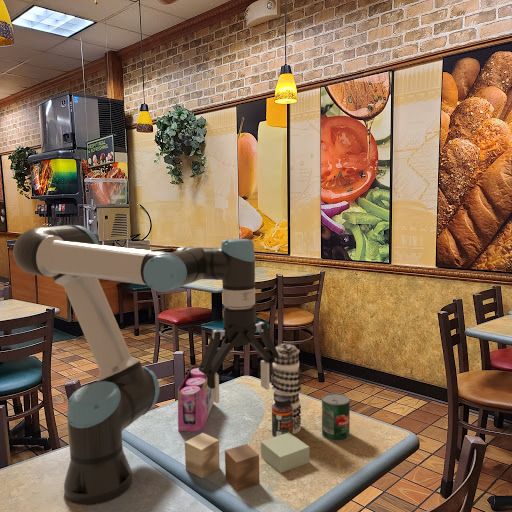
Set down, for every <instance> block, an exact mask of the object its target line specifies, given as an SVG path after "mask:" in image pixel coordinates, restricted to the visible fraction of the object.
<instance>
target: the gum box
mask: <svg viewBox="0 0 512 512" xmlns="http://www.w3.org/2000/svg"><path fill="white" fill-rule="evenodd" d="M199 367H200V365H193V366H191V367H190V368H189V371H188V372H187V374H186V376H185V377H184V379H183V380H182V382H181V384H180V385H179V387H178V389H177V431H178V432H194V433H195V432H199V433H203V430H204V426H205V424H206V421H207V420H208V417H209V415H210V413H211V410H212V408H213V405H214V403H215V402H214V401H213V400H212V399H211V389H210V388H209V387H208V385H207V374H203V373H202V372H201V371H199Z"/></svg>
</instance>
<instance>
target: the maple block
mask: <svg viewBox="0 0 512 512" xmlns="http://www.w3.org/2000/svg"><path fill="white" fill-rule="evenodd" d="M184 459H185V470H186V471H187V472H188V473H191V474H193V475H195V476H197V477H199V478H201V479H204V478H205V477H206V476H208V475H210V474H212V473H213V472H215V471H217V470H219V469H221V468H220V467H221V465H220V462H221V461H220V440H219V439H217V438H215V437H213V436H211V435H209V434H207V433H204V432H200V434H198V435H195V436H194V437H192V438H190V439H188V440H186V441H184Z"/></svg>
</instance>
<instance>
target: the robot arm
mask: <svg viewBox="0 0 512 512" xmlns="http://www.w3.org/2000/svg"><path fill="white" fill-rule="evenodd" d="M12 254H13V255H12V256H13V259H14V261H15V263H16V265H17V266H18V267H19V268H20V269H21V270H22V271H23V272H25V273H27V274H30V275H34V276H43V277H49V278H50V277H52V278H53V281H54V283H55V284H57V285H59V286H62V287H63V288H64V291H65V294H66V295H67V298H68V300H69V302H70V305H71V307H72V310H73V311H74V314H75V317H76V319H77V321H78V323H79V326H80V328H81V330H82V333H83V335H84V337H85V340H86V342H87V344H88V347H89V349H90V351H91V354H92V355H93V359H94V362H95V364H96V365H97V368H98V370H99V372H98V376H97V378H96V382H93V383H91V384H86V385H84V386H81V387H80V388H77V390H75V391H73V393H72V394H71V396H70V397H69V398H68V402H67V412H66V419H67V428H68V429H67V430H68V431H67V432H68V442H69V452H70V453H69V454H70V455H69V456H70V459H69V464H68V467H67V468H68V469H67V471H66V476H65V479H64V484H63V488H64V497H65V499H67V501H69V502H70V503H72V504H75V505H81V506H93V505H99V504H103V503H108V502H110V501H113V500H115V499H116V498H119V497H120V496H122V495H123V494H125V493H126V492H127V491H128V490H129V488H130V487H131V485H132V481H133V477H132V476H133V475H132V474H133V473H132V472H133V471H132V469H131V465H130V464H129V461H128V459H127V457H126V454H125V452H124V447H123V446H124V445H123V431H124V430H125V429H126V428H127V427H129V426H130V425H131V424H133V423H134V422H135V421H137V420H138V419H140V418H141V417H142V416H144V415H146V414H147V413H148V412H149V411H150V410H151V408H153V407H154V406H155V404H156V403H157V401H158V398H159V396H160V382H159V380H158V377H157V375H156V374H155V372H154V371H152V369H149V368H148V367H147V366H143V364H142V362H141V360H140V358H136V357H134V356H132V355H131V352H130V349H129V347H128V345H127V343H126V340H125V338H124V336H123V333H122V331H121V329H120V327H119V324H118V322H117V320H116V317H115V316H114V315H115V314H114V313H113V310H112V308H111V306H110V304H109V301H108V299H107V296H106V294H105V291H104V290H103V287H102V285H101V283H100V280H106V281H113V282H120V283H126V284H127V283H129V284H137V285H145V286H148V287H149V288H151V289H152V290H153V291H155V292H158V293H159V292H160V293H163V292H164V293H165V292H171V291H174V290H175V291H176V290H177V289H178V288H182V287H183V286H185V285H189V284H192V283H194V282H198V281H201V280H214V281H215V280H216V281H221V283H222V305H223V306H224V307H223V308H222V313H223V315H222V316H223V317H222V318H223V329H221V330H217V329H214V328H212V329H211V331H210V340H209V342H208V345H207V346H206V347H207V348H206V349H205V352H204V355H203V357H202V359H201V361H200V364H199V366H200V367H199V371H201V372H202V373H203V374H207V385H208V387H209V388H210V389H211V399H212V400H213V401H214V403H215V404H219V403H220V376H219V374H218V373H217V372H218V370H219V368H220V367H221V366H222V364H223V363H224V361H225V360H226V358H227V357H228V355H229V353H230V352H231V351H232V350H233V349H234V348H239V347H241V346H248V345H249V344H250V345H251V346H252V348H253V349H254V351H256V352H257V353H258V355H259V356H261V358H262V360H260V386H261V388H263V389H265V390H267V391H268V390H270V375H272V374H271V373H272V363H274V361H275V360H274V359H275V358H278V357H279V354H278V352H277V350H276V346H275V344H274V342H273V339H272V338H271V335H270V334H269V329H268V325H267V323H266V322H264V321H258V322H257V323H256V321H257V320H256V312H257V311H256V309H257V308H256V306H255V304H256V257H255V255H256V254H255V245H254V242H253V241H252V240H251V239H248V238H228V239H227V238H226V239H223V240H222V241H221V246H220V247H200V246H199V247H195V246H191V245H190V246H185V247H182V246H181V247H179V248H176V249H175V251H174V252H168V251H158V250H148V249H141V248H139V249H138V248H133V247H130V248H129V247H122V246H121V247H120V246H115V245H114V246H112V245H104V244H100V243H99V241H98V239H97V237H96V235H95V234H94V232H92V231H91V230H90V229H88V228H86V227H85V226H83V225H73V224H65V225H57V226H56V225H55V226H45V227H33V228H29V229H28V230H26V231H24V232H23V233H21V234H20V235H19V236H18V237H17V239H16V240H15V242H14V244H13V249H12ZM256 332H258V334H259V336H260V338H261V340H262V342H263V344H264V347H265V348H266V349H265V348H264V347H263V345H261V344H260V342H259V340H258V339H257V338H256V337H255V334H256ZM223 337H224V339H223ZM222 339H223V341H222V342H221V340H222ZM220 343H221V345H220ZM219 346H220V347H219Z"/></svg>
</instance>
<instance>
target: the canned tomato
mask: <svg viewBox="0 0 512 512" xmlns="http://www.w3.org/2000/svg"><path fill="white" fill-rule="evenodd" d="M350 402H351V399H350V397H349V396H347V395H346V394H343V393H339V392H331V393H330V392H329V393H325V394H324V395H322V397H321V436H322V437H323V438H324V439H325V440H327V441H330V442H344V441H347V440H349V438H350V430H351V429H350V428H351V427H350V419H351V418H350V415H351V414H350V410H351V409H350V408H351V403H350Z"/></svg>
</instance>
